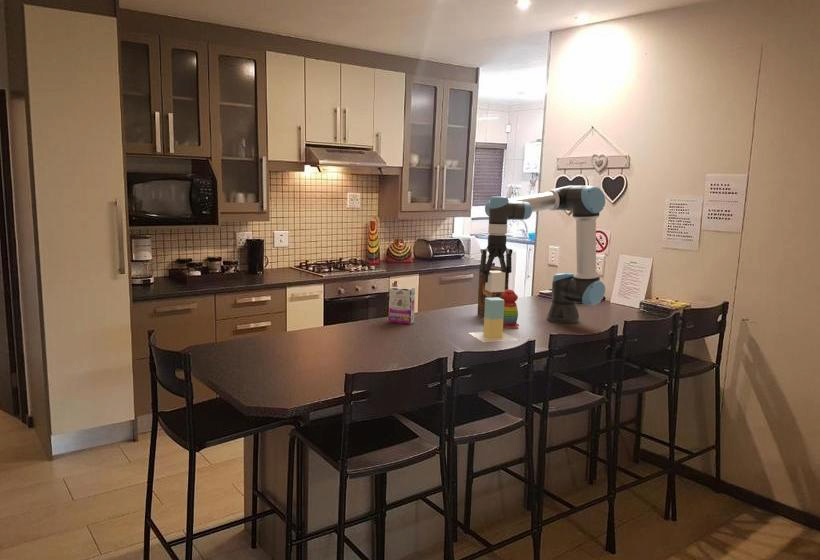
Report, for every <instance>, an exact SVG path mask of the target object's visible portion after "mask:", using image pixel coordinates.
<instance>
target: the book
mask: <svg viewBox="0 0 820 560" xmlns="http://www.w3.org/2000/svg"><path fill="white" fill-rule="evenodd" d="M485 267H486V265H485ZM490 271H502V269H501V266H495V265H491V268H490ZM509 276H510V273H508V275H507V281H506V282H505V290H507V289H509ZM477 289H478V295H477V296H478V297H477V313H476V314H477V316H478V317H482V318H484V313H485V298H496V297H498V298H501V299H502V297H501V294H502V292H489V291H487V290H485V282H484V274H483V273H480V264H479V269H478V288H477Z"/></svg>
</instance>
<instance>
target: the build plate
mask: <svg viewBox="0 0 820 560" xmlns="http://www.w3.org/2000/svg"><path fill="white" fill-rule="evenodd" d="M483 333H484V331H479V332H477V331H476V332H468V334H469V335H471V336H472V337H474V338H475V339H477V340H479V341H480V342H482V343H492V342H493V343H494V342H495V343H496V342H510V341H519V339H518V338H516V337H514V336H513V335H511V334H508V333H506V332H505V331H503V338H490V339H489V338H488V337H486V336H484V335H483Z"/></svg>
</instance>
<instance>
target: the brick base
mask: <svg viewBox="0 0 820 560" xmlns="http://www.w3.org/2000/svg"><path fill="white" fill-rule="evenodd" d="M483 332H484V333H483V335H484V336H486V337H488V338H489V339H490V338H503V332H504V328H503V319H493V320H490V319H488V318H486V317H483Z"/></svg>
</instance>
